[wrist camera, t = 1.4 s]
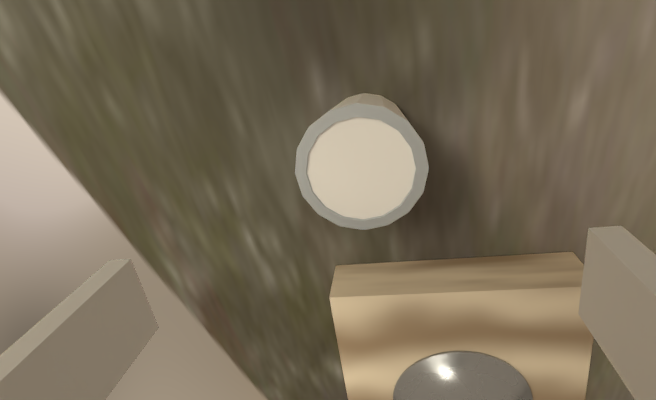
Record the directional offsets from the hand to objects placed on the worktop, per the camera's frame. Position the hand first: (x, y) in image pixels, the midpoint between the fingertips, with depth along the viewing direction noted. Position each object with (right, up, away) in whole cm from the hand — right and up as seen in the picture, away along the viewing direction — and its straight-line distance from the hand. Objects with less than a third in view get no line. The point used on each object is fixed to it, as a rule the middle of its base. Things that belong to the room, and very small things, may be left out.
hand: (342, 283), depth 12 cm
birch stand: (+10, -11, +22) cm, 26 cm away
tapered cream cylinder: (+2, +7, +15) cm, 17 cm away
